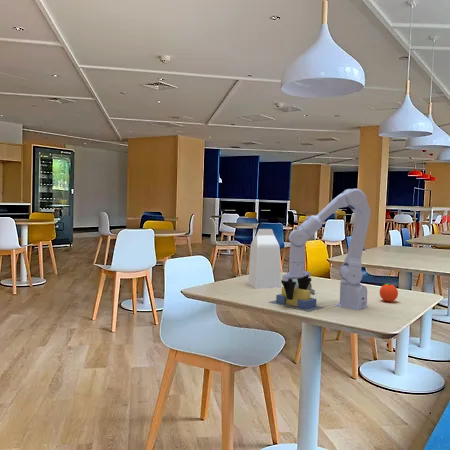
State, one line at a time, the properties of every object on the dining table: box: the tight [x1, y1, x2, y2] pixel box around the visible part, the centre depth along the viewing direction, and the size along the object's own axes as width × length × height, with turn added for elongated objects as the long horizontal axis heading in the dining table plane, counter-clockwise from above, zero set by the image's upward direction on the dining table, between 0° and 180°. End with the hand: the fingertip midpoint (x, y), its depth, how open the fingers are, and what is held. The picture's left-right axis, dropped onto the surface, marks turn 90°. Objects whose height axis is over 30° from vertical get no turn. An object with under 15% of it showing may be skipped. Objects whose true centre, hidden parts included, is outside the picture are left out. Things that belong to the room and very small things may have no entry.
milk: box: [247, 228, 282, 290], centre depth 208 cm, size 12×12×26 cm
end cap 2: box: [297, 297, 317, 310], centre depth 168 cm, size 4×6×3 cm, turn 134°
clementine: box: [379, 283, 399, 303], centre depth 182 cm, size 8×7×7 cm
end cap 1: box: [275, 293, 286, 304], centre depth 175 cm, size 4×6×3 cm, turn 134°
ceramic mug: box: [292, 279, 316, 295], centre depth 193 cm, size 11×8×8 cm
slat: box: [281, 286, 312, 306], centre depth 172 cm, size 11×3×6 cm, turn 44°
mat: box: [268, 300, 325, 313], centre depth 172 cm, size 19×10×1 cm, turn 44°
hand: (296, 297), depth 172 cm, fingers open, 7 cm apart
